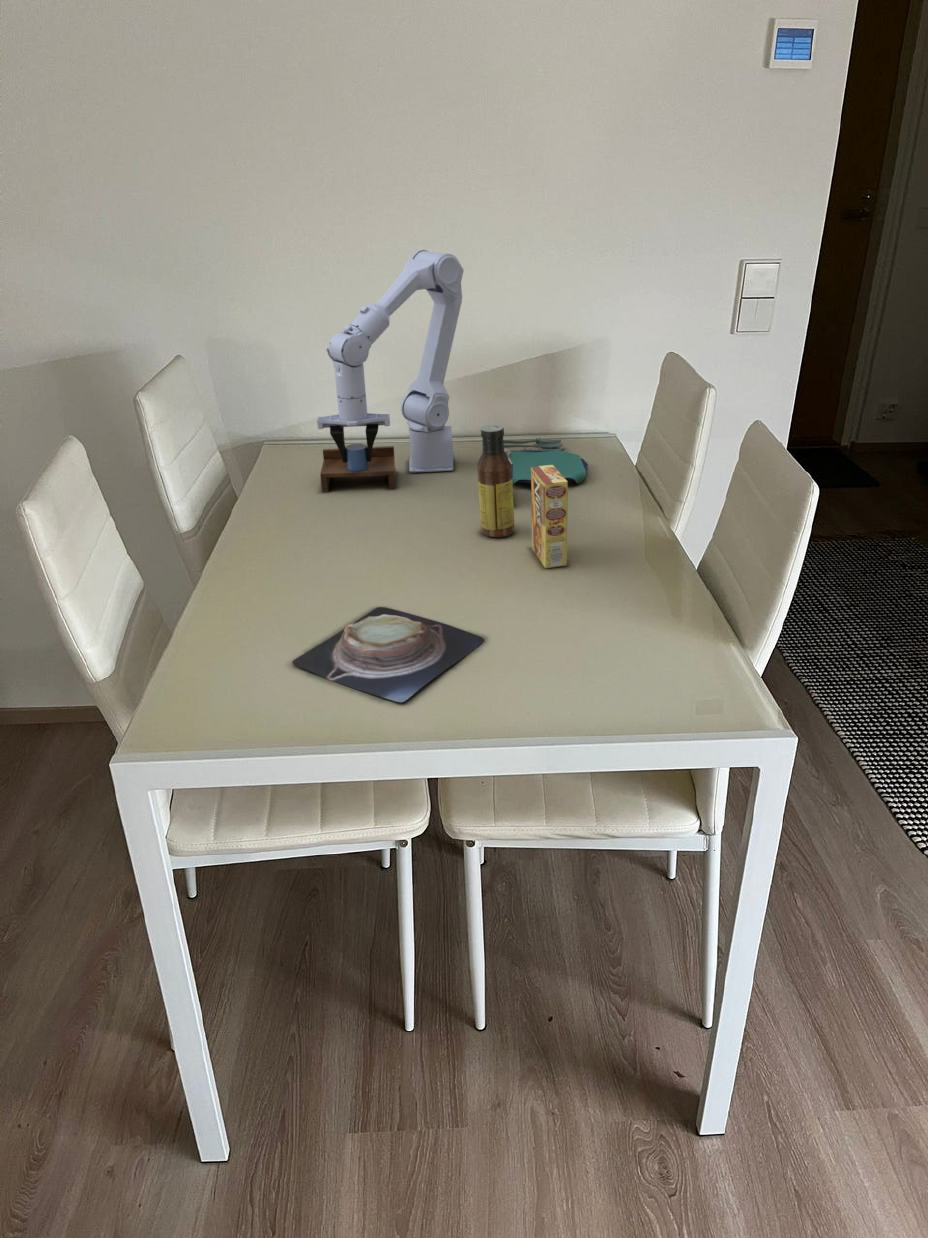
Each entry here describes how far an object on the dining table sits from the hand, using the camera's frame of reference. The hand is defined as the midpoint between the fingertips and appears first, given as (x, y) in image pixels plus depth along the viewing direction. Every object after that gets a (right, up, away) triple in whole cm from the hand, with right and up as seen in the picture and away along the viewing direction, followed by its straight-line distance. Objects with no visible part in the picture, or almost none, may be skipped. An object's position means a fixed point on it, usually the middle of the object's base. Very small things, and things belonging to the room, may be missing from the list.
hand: (357, 460), depth 198 cm
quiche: (+11, -38, -58) cm, 70 cm away
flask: (+30, -9, -7) cm, 32 cm away
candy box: (+37, -22, -31) cm, 53 cm away
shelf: (0, -4, +5) cm, 6 cm away
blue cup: (0, -1, +1) cm, 2 cm away
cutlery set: (+38, 0, +10) cm, 40 cm away
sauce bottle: (+28, -17, -21) cm, 39 cm away
